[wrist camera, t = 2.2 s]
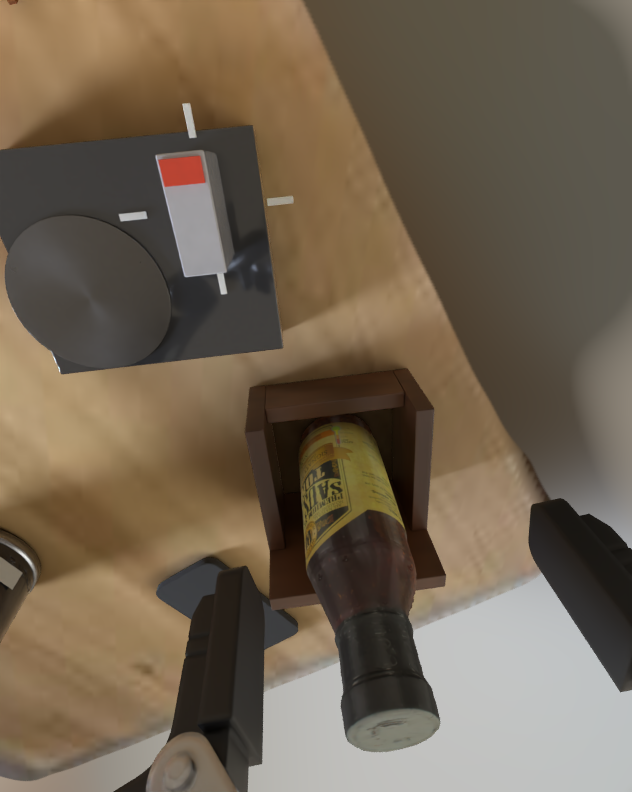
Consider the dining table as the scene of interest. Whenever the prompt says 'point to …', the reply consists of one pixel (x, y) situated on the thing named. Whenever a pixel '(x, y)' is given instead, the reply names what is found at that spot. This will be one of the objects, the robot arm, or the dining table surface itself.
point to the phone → (201, 581)
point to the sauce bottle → (364, 584)
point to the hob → (161, 229)
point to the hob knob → (197, 211)
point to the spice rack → (286, 509)
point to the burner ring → (88, 291)
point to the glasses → (12, 1)
